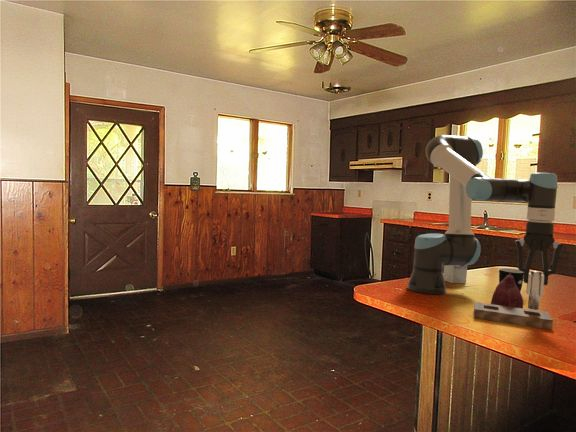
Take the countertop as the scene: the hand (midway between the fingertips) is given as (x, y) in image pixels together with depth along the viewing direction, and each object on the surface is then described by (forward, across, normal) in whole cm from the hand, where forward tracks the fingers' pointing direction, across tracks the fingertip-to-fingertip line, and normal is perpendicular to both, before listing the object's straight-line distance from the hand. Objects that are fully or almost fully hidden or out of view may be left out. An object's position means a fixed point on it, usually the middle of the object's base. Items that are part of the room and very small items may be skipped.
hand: (534, 293), depth 135 cm
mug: (+9, -3, +41) cm, 42 cm away
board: (+9, -6, 0) cm, 11 cm away
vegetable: (+10, -6, +14) cm, 18 cm away
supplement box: (+9, -25, +52) cm, 59 cm away
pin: (+5, 0, 0) cm, 5 cm away
